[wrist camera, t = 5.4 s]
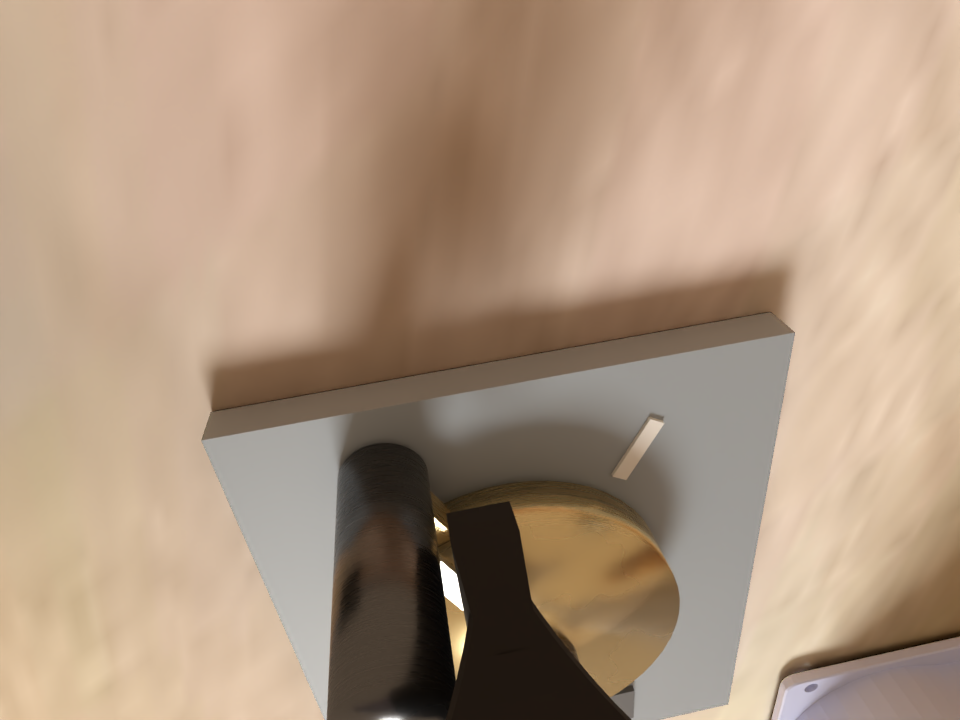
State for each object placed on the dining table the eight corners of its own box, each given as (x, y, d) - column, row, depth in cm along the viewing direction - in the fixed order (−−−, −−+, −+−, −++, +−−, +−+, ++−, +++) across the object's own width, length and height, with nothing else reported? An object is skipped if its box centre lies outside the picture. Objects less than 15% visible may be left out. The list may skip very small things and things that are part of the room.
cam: (702, 593, 18) (818, 805, 14) (475, 717, 20) (510, 946, 15) (507, 349, 13) (587, 560, 8) (216, 544, 14) (148, 815, 10)
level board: (770, 311, 15) (800, 338, 14) (714, 677, 23) (731, 711, 22) (210, 412, 14) (198, 447, 13) (355, 757, 22) (354, 796, 21)
